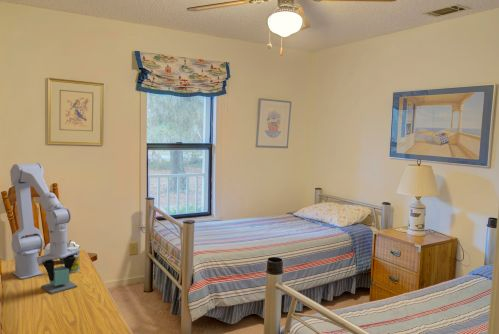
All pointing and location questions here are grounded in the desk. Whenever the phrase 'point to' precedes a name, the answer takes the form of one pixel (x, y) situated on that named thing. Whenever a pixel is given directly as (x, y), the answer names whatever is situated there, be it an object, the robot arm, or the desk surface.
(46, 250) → the giant panda
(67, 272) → the teal cube
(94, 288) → the desk surface
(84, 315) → the desk surface
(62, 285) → the slate mat
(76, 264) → the supplement bottle
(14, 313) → the desk surface
